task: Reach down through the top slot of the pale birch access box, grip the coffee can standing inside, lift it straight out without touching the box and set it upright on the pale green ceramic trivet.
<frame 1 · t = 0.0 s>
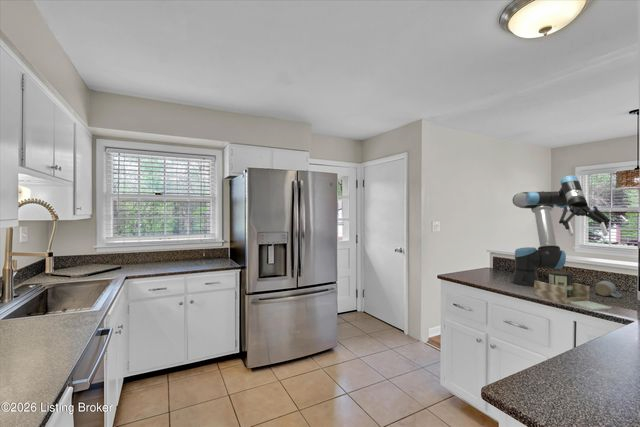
hand: (588, 234, 147), 36 cm above the worktop, tool tilted 35°, fingers open, 13 cm apart
trivet: (590, 306, 150), on the worktop
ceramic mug: (608, 296, 168), on the worktop
coffee can: (560, 298, 164), resting in access box
access box: (560, 298, 164), on the worktop
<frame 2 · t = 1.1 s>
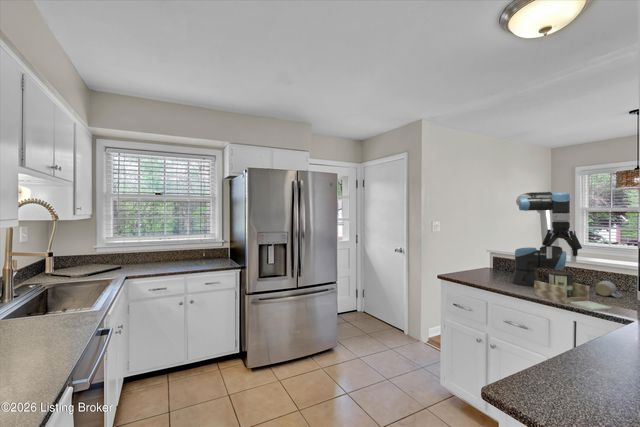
hand: (560, 260, 163), 21 cm above the worktop, tool pointing down, fingers open, 13 cm apart
nothing on the worktop moved.
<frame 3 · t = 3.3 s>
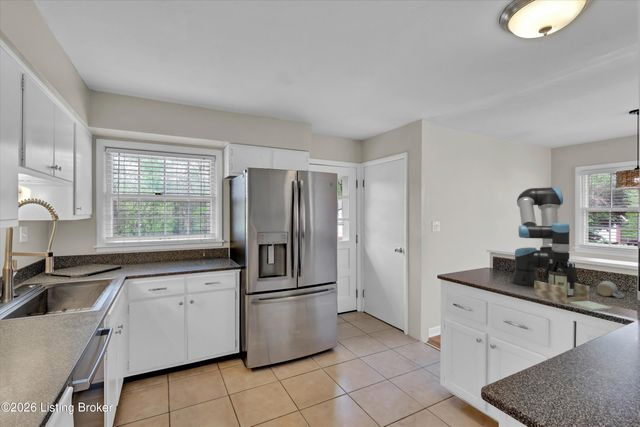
hand: (560, 292, 164), 3 cm above the worktop, tool pointing down, fingers closed on coffee can, 10 cm apart
coffee can: (560, 298, 164), resting in access box, touching gripper
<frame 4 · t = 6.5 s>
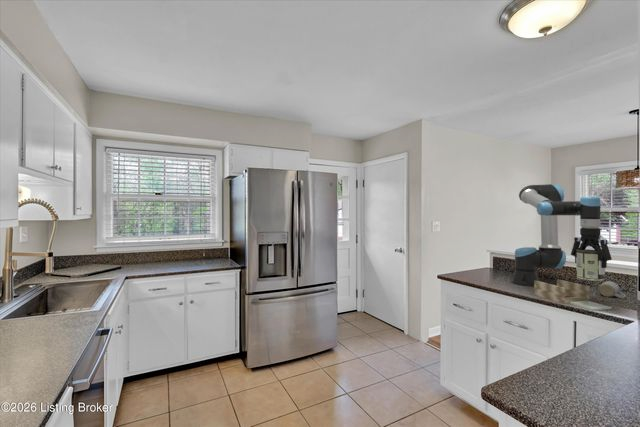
hand: (590, 272, 149), 17 cm above the worktop, tool pointing down, fingers closed on coffee can, 10 cm apart
coffee can: (590, 279, 149), point 14 cm above the worktop, touching gripper
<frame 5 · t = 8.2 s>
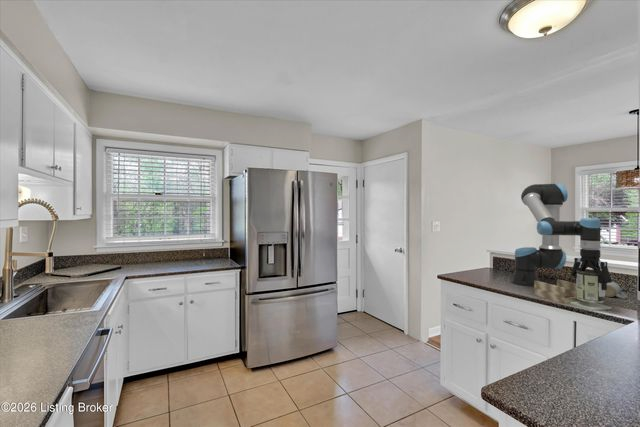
hand: (590, 293, 149), 6 cm above the worktop, tool pointing down, fingers closed on coffee can, 10 cm apart
coffee can: (590, 300, 149), point 3 cm above the worktop, touching gripper
when the fingers open (5 cm above the worktop, at t = 9.5 s): coffee can drops 1 cm, resting on trivet.
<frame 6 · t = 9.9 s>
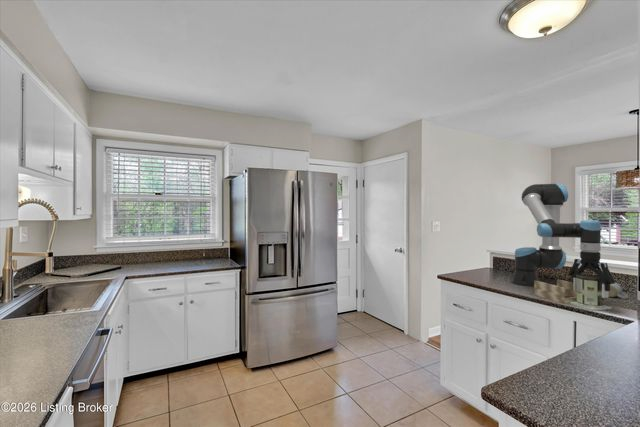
hand: (590, 293, 149), 6 cm above the worktop, tool pointing down, fingers open, 13 cm apart
coffee can: (589, 304, 150), point 1 cm above the worktop, touching trivet
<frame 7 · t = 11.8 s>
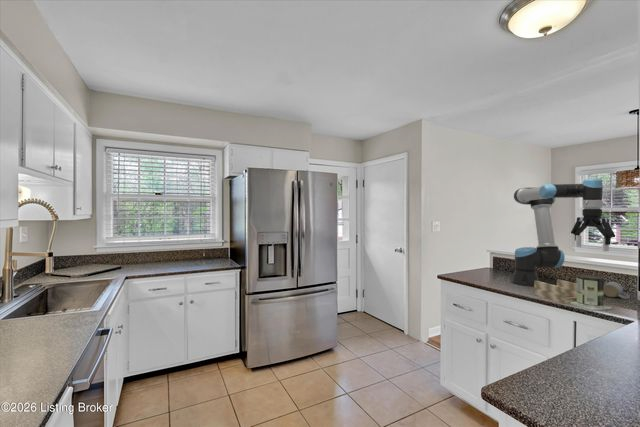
hand: (591, 249, 157), 28 cm above the worktop, tool pointing down, fingers open, 13 cm apart
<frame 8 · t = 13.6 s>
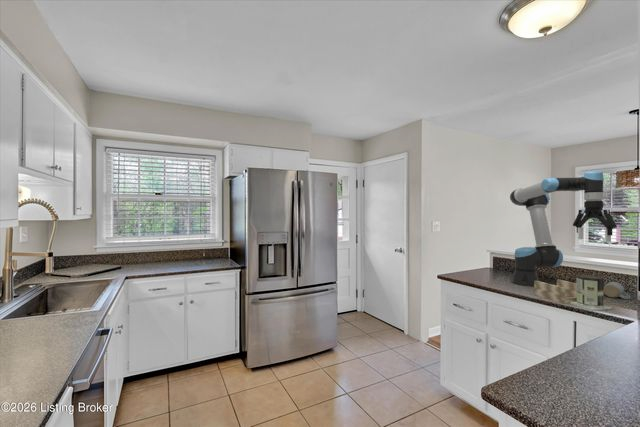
hand: (593, 240, 160), 32 cm above the worktop, tool pointing down, fingers open, 13 cm apart
at the end: coffee can inside the target area on the trivet (0.2 cm from its centre), point 0.6 cm above the trivet's base; coffee can tilted 0°; coffee can touching trivet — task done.
